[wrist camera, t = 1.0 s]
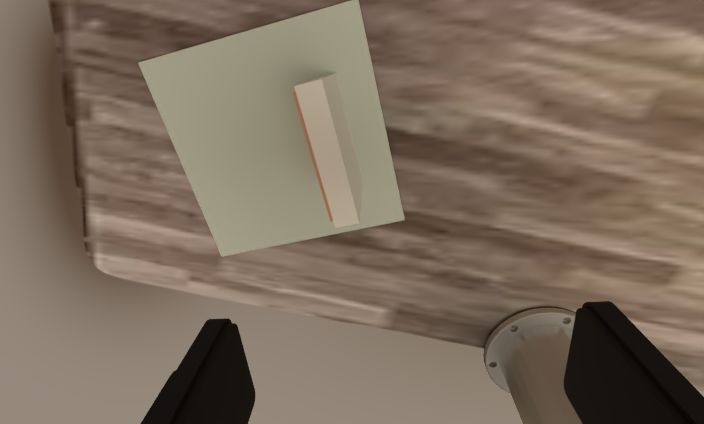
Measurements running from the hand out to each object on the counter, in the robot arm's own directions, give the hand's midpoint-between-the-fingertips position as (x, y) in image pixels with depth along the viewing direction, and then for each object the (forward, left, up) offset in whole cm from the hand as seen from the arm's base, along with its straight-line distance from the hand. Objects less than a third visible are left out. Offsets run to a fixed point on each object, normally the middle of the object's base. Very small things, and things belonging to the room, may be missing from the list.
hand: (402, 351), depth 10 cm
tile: (+3, -2, -26) cm, 26 cm away
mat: (+9, -2, -27) cm, 28 cm away
